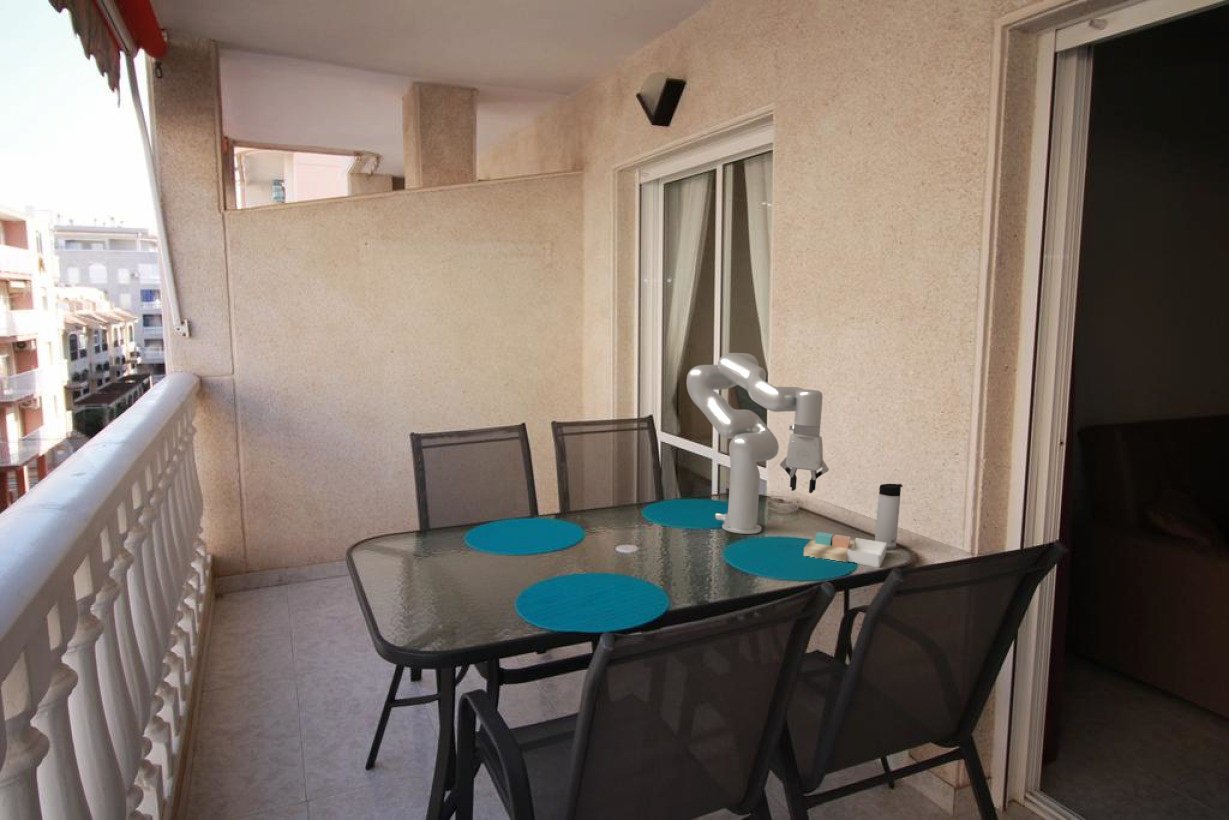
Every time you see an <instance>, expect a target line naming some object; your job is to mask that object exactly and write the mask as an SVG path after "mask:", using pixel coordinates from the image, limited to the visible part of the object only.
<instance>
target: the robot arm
mask: <svg viewBox="0 0 1229 820" xmlns="http://www.w3.org/2000/svg"><path fill="white" fill-rule="evenodd" d="M766 380H767V373H766V370H765V369H764V367H762V366H760V365H759V361H758V359H757V358H756V357H755V356H754V355H752V354H751V353H747V352H746V353H745V352H728V353H725V354H723V355H722V356H720V358H719V359H718V361H717V364H701V365H696V366H694V367H692V368H691V369H690V370H689V371H688V373H687V376H686V389H687V393H688V395H689V397H690V399H691V401H692V402H693V404H694V405H695V406H697V408H699V410H700V411H701V412H702V413H703V415H704V416H705V418H707V420H708V421H709V422H710V424H711V425H712V426H713V428H714V429H715V430H716V432H717V433H718V434H719V435H720V436H721V437H722V438H724V439H731V440H730V441H729V446H728V452H729V460H730V463H729V464H730V473H729V474H730V475H729V476H730V477H729V491H728V505H727V508H728V509H727V512H726V513H724V514H723V513H718V512H716V513H715V516H714V517H715V519H716V521H723V522H722V526H721V527H722V529H723V530H725V531H727V532H731V533H734V534H743V535H751V534H752V535H753V534H754V535H755V534H759V533H760V532H762V526H761V525H759V524H758V512H759V501H760V500H759V499H760V498H759V497H760V486H761V483H760V482H761V474H760V470H759V468H758V467H759V466H758V464H757V462H766V461H769V460H770V461H771V460H773V459H775V457H776V456H777V455H778V453H779V450H780V449H779V448H780V446H779V442H778V439H777V437H776V435H775V434H774V433H773V432H772V431H771V430H770V428H769V427H768V426H767V425H766V423H765V422H764V421H763V420H762V418H761V417H760V416H759V415H758V414H756V413H755V412H754V411H752V410H749V409H735V408H733V407H732V406H731V405H730V404H729V403H728V401H727V400H726V399H725V398H724V396H722V395H721V394H719V393H718V392H716V391H717V390H719V391H720V390H728V389H730V388H734V387H736V386H739V387H741V388H742V389H744V390H746V391H747V393H748V396H749V397H750V398H751V400H752V401H753V402H755V403H756V404H757V405H759V406H761V407H763V409H766V410H768V411H771V412H773V413H774V412H775V413H783V412H795V413H794V424H793V425H789V427H788V430H790V431H792V432H793V433H791V434H790V436H789V441H788V445H787V451H786V457H785V458H784V459H783V460H782V461H781V462H780V463H779V466H780V467H781V468H782V469H783V470H784V471H785V472H786V473H787V474H788V477H790V480H789V481H790V482H789V488H791V491H793V492H794V491H796V489H797V479H798V477H797V474H796V473H797V471H798V470H805V471H810V475H811V477H810V479H809V486H808V493H809V494H812V493H813V492H814V491H815V490H816V488H817V487H816V485H817V479H818V478H820V477H821V476H822V475H824V474H826V473H828V472H829V471H830V469H829V466H827V464H826V462H825V461H824V459H823V458H824V456H823V455H824V453H823V451H824V450H823V449H824V448H823V446H824V445H823V438H822V436H820V435H821V424H822V420H821V419H822V412H823V411H822V409H823V397H824V396H823V393H822V391H821V390H820V391H819V390H817V389H808V388H806V389H805V388H802V387H798V386H775V385H773V384H771V383H769V382H767V381H766ZM715 390H716V391H715ZM820 469H821V470H820ZM818 470H819V471H818Z"/></svg>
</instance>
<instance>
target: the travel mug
mask: <svg viewBox="0 0 1229 820" xmlns="http://www.w3.org/2000/svg"><path fill="white" fill-rule="evenodd" d="M901 488H903V484H901V483H883V484H880V486H879V489H878V490H879V491H878V501H877V509H876V522H875V523H876V524H875V533H874V534H875V535H874V541H879V542H886V543H887V549H886V551H893V549H894V550H896V547H897V540H898V538H897V537H898V529H899V528H898V526H899V517H900V516H899V515H900V506H901V505H900V504H901Z"/></svg>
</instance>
